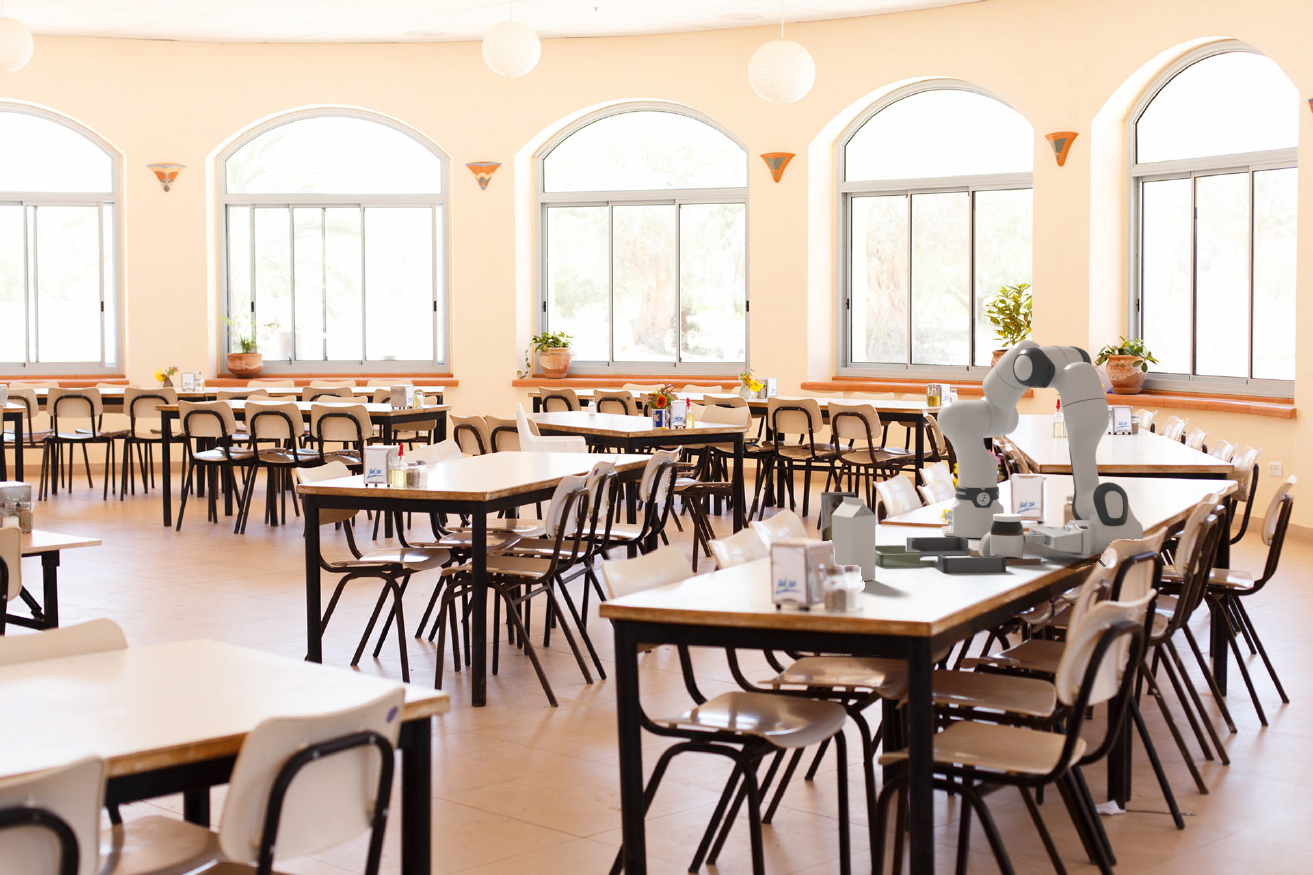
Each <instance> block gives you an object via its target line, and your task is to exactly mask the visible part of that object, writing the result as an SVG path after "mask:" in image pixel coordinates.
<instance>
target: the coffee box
mask: <svg viewBox="0 0 1313 875" xmlns="http://www.w3.org/2000/svg"><path fill="white" fill-rule="evenodd" d="M843 497H852V498H857V494H856V492H855V491H821V492H820V518H821V519H820V522H821V523H820V527H821V528H820V532H821V538H820V539H821V541H829V540H832V514H833V513H834V512H835V510H836V509H837V508H838V507H839V506H840V504H841V503H842V502H843Z"/></svg>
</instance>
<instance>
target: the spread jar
mask: <svg viewBox="0 0 1313 875" xmlns="http://www.w3.org/2000/svg"><path fill="white" fill-rule="evenodd" d="M993 520H994V522H993V524H992V527H991V532H988V533H987V534H985V535H984V537H983V538H980V541H979V544H978V548H977V550H978V551H979V554H980V555H982V556H981V557H995V554H1000V555H1002V556H1004V557H1006V559H1024V554H1025V552H1024V549H1025V546H1024V545H1025V544H1024V543H1025V542H1024V534H1025V533H1024V531H1025V530H1024V526H1023V524H1022V514H1019V513H1007V512H1006V513H1005V512H1004V513H1001V514H994V515H993Z"/></svg>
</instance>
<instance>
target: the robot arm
mask: <svg viewBox="0 0 1313 875" xmlns="http://www.w3.org/2000/svg"><path fill="white" fill-rule="evenodd" d="M1029 388H1031V389H1032V388H1034V389H1048V388H1049V389H1055V390H1056V391H1057V392H1058V394H1059V398H1060V403H1061V408H1062V409H1061V410H1062V413H1063V418H1064V422H1065V428H1066V429H1065V430H1066V434H1067V441H1068V450H1069V458H1070V466H1071V473H1072V480H1073V487H1074V488H1073V490H1074V491H1073V498H1072V502H1071V512H1072V513H1071V514H1072V516H1073V518H1074V519H1072V520H1071V519H1069V521H1067V523H1066V524H1064V525H1062V526H1061V527H1060V526H1051V525H1050V526H1049V525H1048V526H1047V525H1046V526H1045V525H1039V526H1038V525H1037V526H1036V525H1034V526H1029V529H1028V533H1024V543H1026V544H1028V543H1029V544H1031V543H1033V544H1039V545H1041V546H1044V547H1046V548H1048V549H1051V550H1053V551H1056V552H1057V551H1058V552H1062V553H1063V552H1064V553H1068V555H1071V556H1092V555H1096V554H1102V555H1104V554H1103V553H1104V551H1105V550H1106V548H1107V547H1108V546H1109V545H1110V543H1112V541H1114V540H1117V539H1131V540H1134V539H1142V540H1143V538H1144V528H1143V524H1142V523H1141V522H1140V521H1139V520H1138V518H1136V517H1135V514H1134V512H1133V511H1132V508H1131V506H1130V503H1129V498H1128V494H1127V492H1126V490H1125V489H1124V488H1123V487H1122V486H1121V485H1119V484H1117V483H1115V482H1111V481H1110V482H1108V481H1107V482H1106V481H1105V482H1102V483H1101V484H1100V478H1099V474H1098V471H1099V470H1098V465H1097V456H1096V455H1097V448H1098V446H1099V444H1100V442H1101V439H1102V438H1103V436H1104V434H1105V433H1106V431H1107V429H1108V427H1109V426H1110V425H1109V424H1110V423H1109V422H1110V419H1109V418H1110V415H1109V414H1110V413H1109V407H1108V406H1109V405H1108V401H1107V397H1106V393H1105V389H1104V387H1103V384H1102V380H1101V378H1100V376H1099V373H1098V371H1097V369H1096V367H1095V366H1094V365H1093V364H1092V358H1091V357H1090V354H1089V353H1088V352H1087V351H1086V350H1084V349H1083V348H1081V347H1077V346H1073V345H1068V346H1063V345H1049V346H1041V345H1040V344H1038V343H1037V342H1035V341H1033V340H1031V339H1030V340H1028V339H1022V340H1019V341H1018V342H1016V343H1015V344H1013V345H1012V346H1011V347H1009V348H1008V350H1006V351H1005V352H1004V353H1003V354H1002V355H1001V357H1000V358H999V359H998V361H997V362H996V363H995V364H994V365H993V367H992V368H991V369H990V371H989V372H988V373H987V375H986V376H985V377H984V379H983V381H982V392H983V394H984V396H982V397H981V398H979V399H961V400H960V399H959V400H954V401H951V402H948V403H945V404H943V405H942V406H941V407H940V409H939V411H938V412H937V416H936V419H937V420H936V422H937V427H938V429H939V431H940V432H941V434H942V435H944V437H946V439H948V441H949V443H951V447H952V448H953V450H954V453H955V456H956V464H957V465H956V466H957V486H956V487H955V496H954V498H955V500H954V502H953V504H952V506H951V507H950V508H949V509H948V511H945V512H944V520H945V521H948V523H947V524H948V525H945V526H944V525H943V526H941V528H940V529H941V531H942V534H943V536H944V537H964V538H966V539H968V538H970V539H982V538H983V537H984V535H985V534H987V533H988V532H991V527H992V524H993V522H994V520H993V515H994V514H1001V513H1005V507H1004V506H1003V504H1001V503H1000V502H999V498H1000V488H999V486H998V460H997V457H995V455H993V453H991V452H989V451H988V450H987V448H986V445H985V441H984V439H987V438H988V439H989V438H999V437H1003V436H1006V435H1010V434H1012V433H1013V432H1014V431H1016V429H1017V427H1018V425H1019V419H1020V418H1019V412H1018V409H1017V407H1016V406H1017V404H1018V402H1019V401H1020V400H1021V399H1022V397H1023V396H1024V394H1025V393H1026V392H1027V390H1029Z"/></svg>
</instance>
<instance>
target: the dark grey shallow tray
mask: <svg viewBox="0 0 1313 875" xmlns="http://www.w3.org/2000/svg"><path fill="white" fill-rule="evenodd" d="M934 560H935V561H932V566H931V567H932V568H935V569H936V570H938V571H939V572H941V573H943V574H962V573H963V574H967V573H968V574H969V573H970V574H971V573H972V574H973V573H975V574H976V573H979V574H980V573H1007V565H1006V557H1004V556H1002V555H1000V554H995V557H983V556H966V557H963V556H962V557H947V556H943V555H938V556H937V559H934Z"/></svg>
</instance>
